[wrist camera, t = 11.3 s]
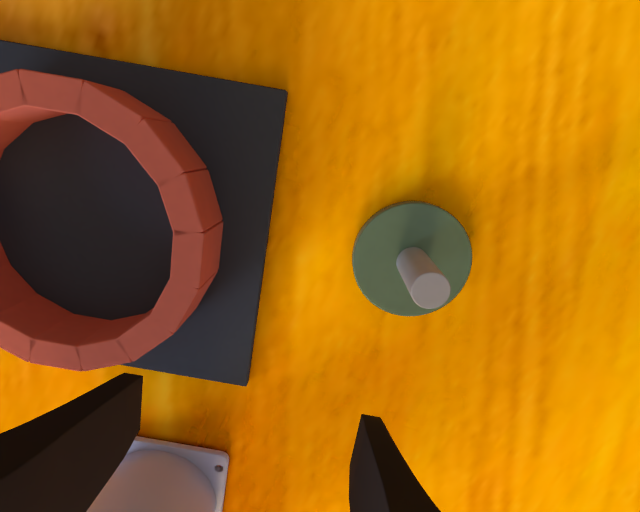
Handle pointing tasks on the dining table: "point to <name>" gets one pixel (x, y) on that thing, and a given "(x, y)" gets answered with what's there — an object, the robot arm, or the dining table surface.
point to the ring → (180, 203)
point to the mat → (143, 206)
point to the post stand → (411, 258)
